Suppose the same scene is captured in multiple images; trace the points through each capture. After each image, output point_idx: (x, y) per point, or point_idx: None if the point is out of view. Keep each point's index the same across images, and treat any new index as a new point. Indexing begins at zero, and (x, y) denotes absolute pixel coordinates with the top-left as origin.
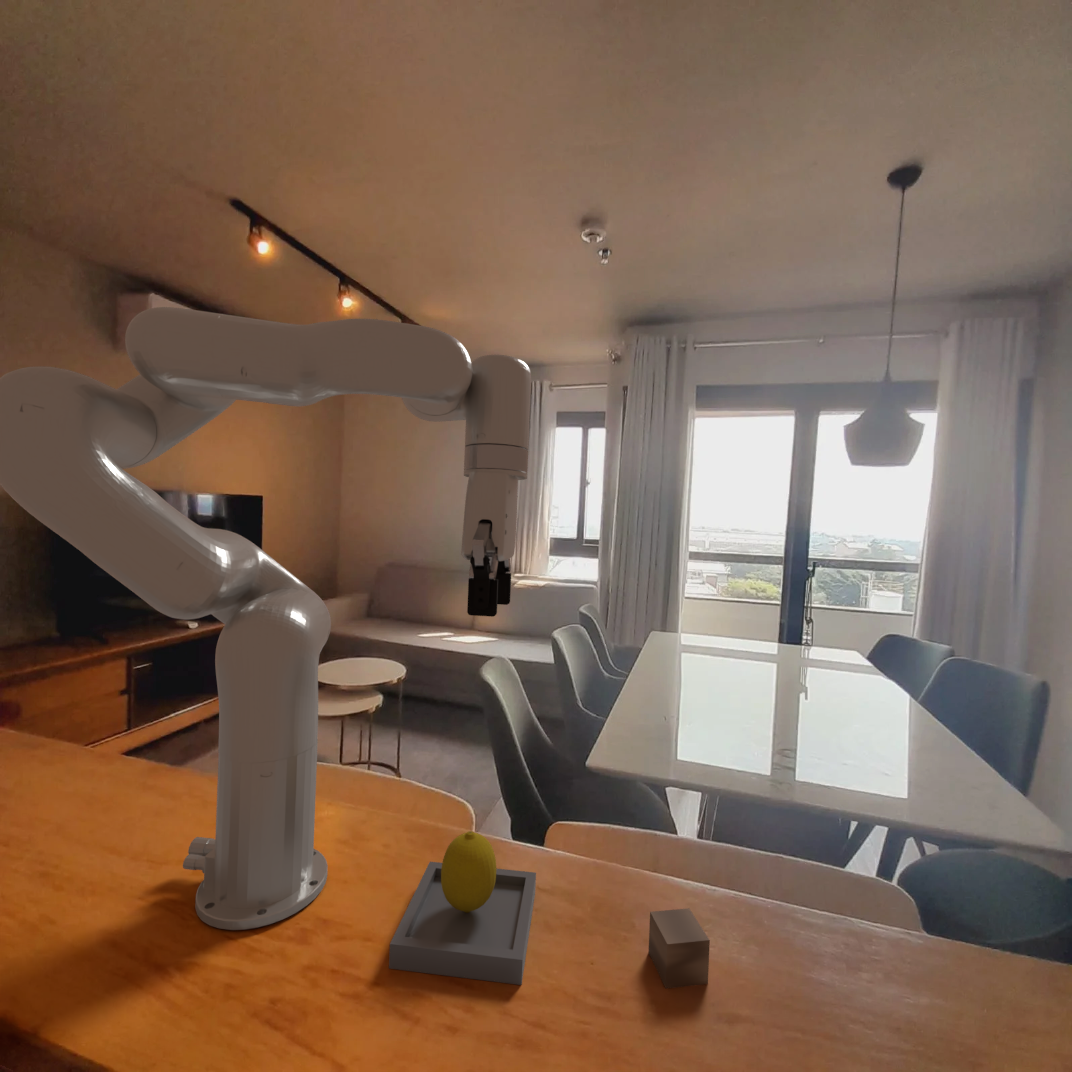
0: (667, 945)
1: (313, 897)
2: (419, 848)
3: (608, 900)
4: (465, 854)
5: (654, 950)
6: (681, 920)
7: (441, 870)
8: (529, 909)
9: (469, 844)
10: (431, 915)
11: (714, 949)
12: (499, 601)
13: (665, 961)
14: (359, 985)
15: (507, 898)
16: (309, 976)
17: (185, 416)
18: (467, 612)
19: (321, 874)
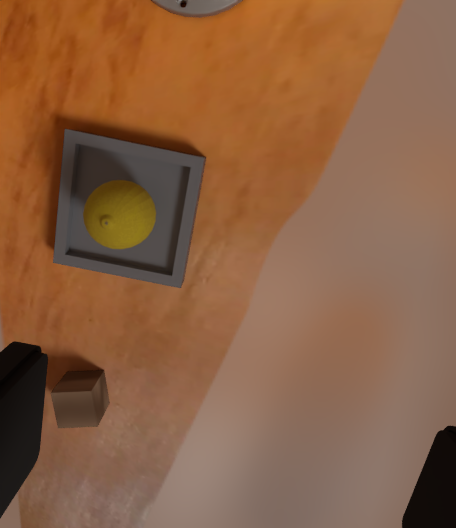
0: (51, 392)
1: (167, 10)
2: (276, 136)
3: (171, 352)
4: (86, 215)
5: (87, 377)
6: (80, 414)
7: (113, 181)
8: (119, 275)
9: (94, 221)
10: (126, 168)
11: (109, 423)
12: (417, 497)
13: (60, 383)
14: (54, 103)
15: (154, 251)
16: (61, 47)
17: None
18: (14, 342)
19: (199, 7)
